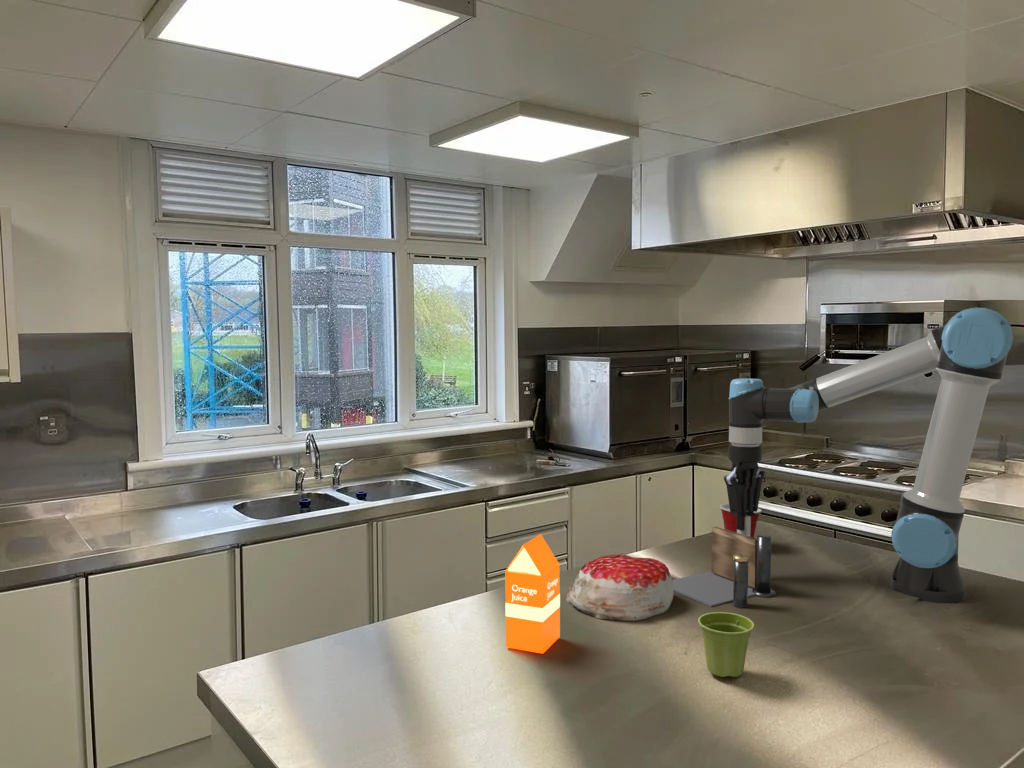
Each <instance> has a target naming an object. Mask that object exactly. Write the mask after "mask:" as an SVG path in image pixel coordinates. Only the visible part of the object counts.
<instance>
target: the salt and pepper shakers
mask: <svg viewBox="0 0 1024 768" xmlns="http://www.w3.org/2000/svg"><path fill="white" fill-rule="evenodd" d="M756 538H757V588H754V589H752V592H753V593H755V594H756V597H759V598H773V597H775V596H776V591H775V590H773V589H772V588H771V587H772V585H771V582H772V581H771V578H772V577H771V576H772V536H771V535H769V534H758V535H756ZM733 560H734V579H733V601H732V602H733V603H732V604H733V605H732V606H733V607H735V608H739V609H746V608H748V607H749V597H748V561H749V556H748V555H744V554H735V555H733Z"/></svg>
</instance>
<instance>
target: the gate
mask: <svg viewBox="0 0 1024 768" xmlns="http://www.w3.org/2000/svg"><path fill="white" fill-rule="evenodd" d="M735 554H744V555H748V556H749V561H748V586H750V587H753V588H757V537H754V538H753V537H750V536H746V535H743V534H739V533H736V532H733V531H729V530H726V529H725V528H723V527H720V526H719V527H718V526H712V527H711V571H712V573H715V574H718V575H720V576H723V577H726V578H729V579H731V580H733V579H734V560H733V555H735Z"/></svg>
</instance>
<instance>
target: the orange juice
mask: <svg viewBox="0 0 1024 768" xmlns="http://www.w3.org/2000/svg"><path fill="white" fill-rule="evenodd" d="M560 566H561V565H560V562H559V561H558V560H557V558H556V557H555V555H554V553H553V552H552V550H551V548H550V546H549V545H548V543H547V542H546V540H545V538H544V537H543V535H542V533H540V534H539V535H537V536H535V537H534V538H531V539H530V540H529V541H527V542H525V543H524V544H522V546H521V548H520V549H519V551H518V552H517V553H516V555H515V556H514V558H513V559H512V560H511V562H510V563H509V565H508V566H507V568H506V570H505V571H504V575H505V577H504V578H505V579H504V580H505V584H504V585H505V588H504V589H505V590H504V591H505V607H504V610H505V611H504V612H505V648H508V649H513V650H514V649H515V650H520V651H526V652H531V653H537V654H544V653H546V652H547V650H548V649H550V648H551V646H553V644H554V643H555V642H557V640H559V639H560V637H561V591H560V590H561V587H560V585H561V583H560V582H561V580H560V572H561V571H560V570H561V569H560Z"/></svg>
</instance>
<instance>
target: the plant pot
mask: <svg viewBox="0 0 1024 768" xmlns="http://www.w3.org/2000/svg"><path fill="white" fill-rule="evenodd" d="M697 621H698V622H697V623H698V625H699V626H700V631H701V633H702V637H703V645H704V646H703V647H704V653H705V662H706V668H707V670H708V671H709V672H710V673H711V674H712V675H715V676H718V677H722V678H726V677H732V678H737V677H739V676H741V675H743V673H744V670H745V663H746V657H747V651H748V645H749V638H750V637H751V634H752V631H753V630H754V628H755V624H754V621H752V620H751V619H750V618H749V617H746V616H744V615H741V614H738V613H733V612H725V611H724V612H723V611H722V612H721V611H714V612H713V611H712V612H707V613H704V614H702V615H700V616H699V617H698V619H697Z"/></svg>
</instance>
